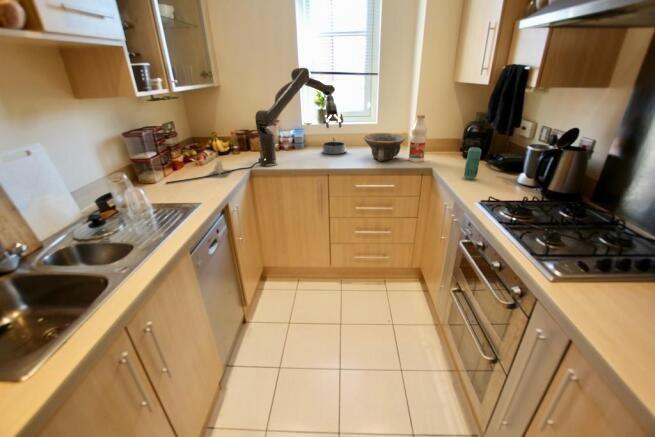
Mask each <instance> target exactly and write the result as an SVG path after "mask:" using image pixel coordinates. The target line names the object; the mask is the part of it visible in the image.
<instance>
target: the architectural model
mask: <svg viewBox="0 0 655 437" xmlns="http://www.w3.org/2000/svg"><path fill="white" fill-rule="evenodd" d="M213 170H214V171H212V172H211V173H210V174H209V175H213V174H219V175H215V176H210V177H209V178H227V176H229V175H230V174H231V173H232V172H233V171H231V172H227V173H223V174H220V173H222V172H226V171H230V170H231V169H224V166H223V161H222V159H220V160H217V161H216V164H215V166H214V167H213Z"/></svg>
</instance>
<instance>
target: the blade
mask: <svg viewBox="0 0 655 437" xmlns="http://www.w3.org/2000/svg"><path fill="white" fill-rule="evenodd" d="M331 142H332V146H337V143H336V142H337V141H336V137H335V136H332V140H331Z"/></svg>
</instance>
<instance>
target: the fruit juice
mask: <svg viewBox="0 0 655 437" xmlns="http://www.w3.org/2000/svg"><path fill="white" fill-rule="evenodd" d="M425 118H426V117H425V114H417V115H416V120H415V122H414V125H413V126H412V128H411V136H410V140H409V152H408V160H409V161H410V162H413V163H421V162H423V161H424V160H425V152H426V143H427V136H426V134H427V132H428V129H427V126H426V123H425Z"/></svg>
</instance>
